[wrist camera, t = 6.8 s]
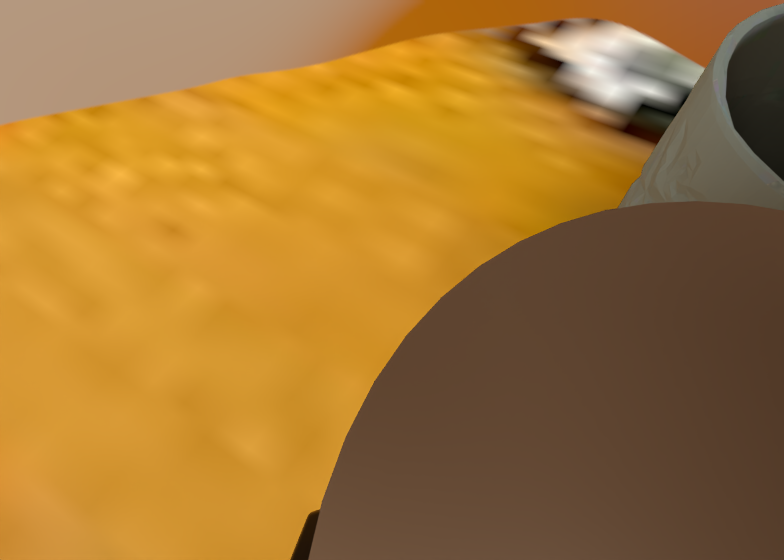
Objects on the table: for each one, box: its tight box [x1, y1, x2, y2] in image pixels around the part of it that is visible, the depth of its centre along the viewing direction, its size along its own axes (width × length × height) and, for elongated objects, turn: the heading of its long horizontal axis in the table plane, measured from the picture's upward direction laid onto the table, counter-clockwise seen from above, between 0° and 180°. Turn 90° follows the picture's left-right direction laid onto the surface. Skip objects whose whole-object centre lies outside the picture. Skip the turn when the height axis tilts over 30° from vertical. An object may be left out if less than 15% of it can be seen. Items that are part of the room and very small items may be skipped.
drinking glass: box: [618, 3, 784, 211], centre depth 20 cm, size 10×10×12 cm
